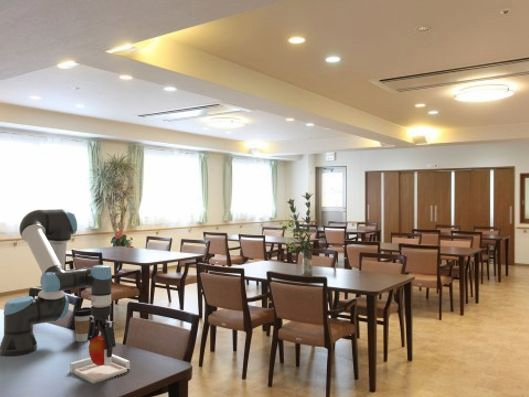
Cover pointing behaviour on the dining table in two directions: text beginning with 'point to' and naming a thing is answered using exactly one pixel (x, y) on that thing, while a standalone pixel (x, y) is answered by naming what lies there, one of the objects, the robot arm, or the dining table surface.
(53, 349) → the dining table surface
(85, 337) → the coffee cup
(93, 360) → the apple
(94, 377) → the dish
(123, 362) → the pen walls
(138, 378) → the dining table surface
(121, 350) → the dining table surface
